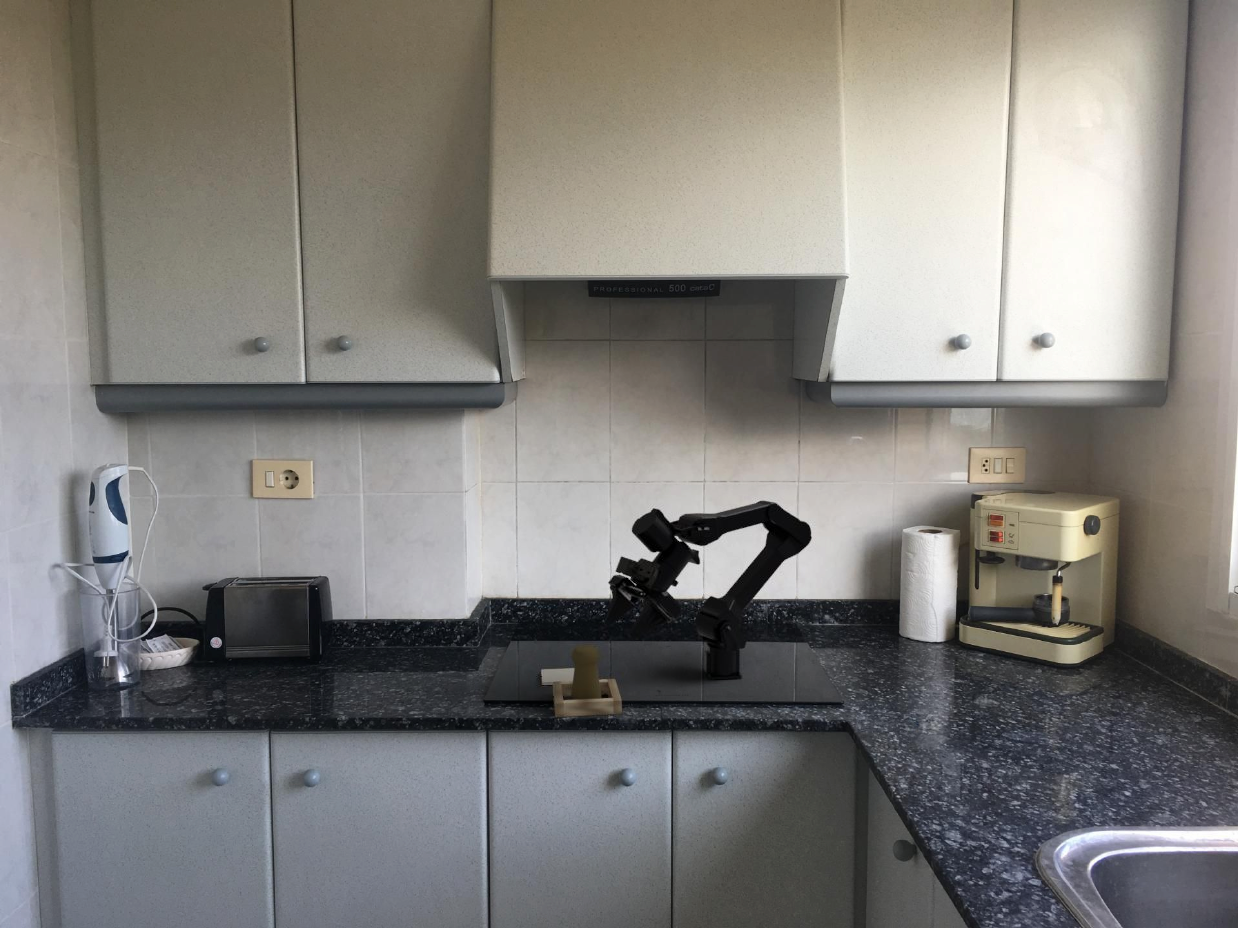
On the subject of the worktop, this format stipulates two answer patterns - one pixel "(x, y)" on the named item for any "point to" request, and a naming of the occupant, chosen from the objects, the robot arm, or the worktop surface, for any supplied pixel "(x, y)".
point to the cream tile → (556, 675)
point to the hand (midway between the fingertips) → (617, 631)
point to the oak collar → (587, 700)
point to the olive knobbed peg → (585, 673)
